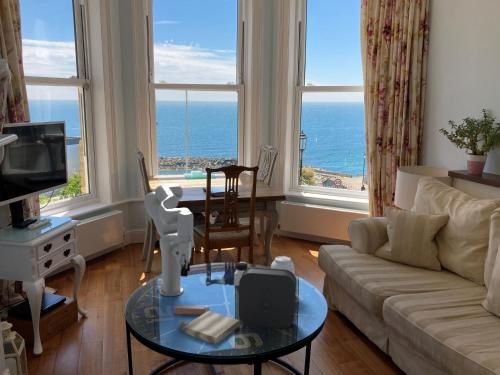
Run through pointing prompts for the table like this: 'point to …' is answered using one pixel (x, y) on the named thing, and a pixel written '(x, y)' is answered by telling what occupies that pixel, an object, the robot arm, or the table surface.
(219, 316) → the stool seat
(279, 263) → the white ribbed vase
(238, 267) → the box camera
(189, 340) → the table surface
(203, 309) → the folding leg
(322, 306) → the table surface
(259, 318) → the speaker
